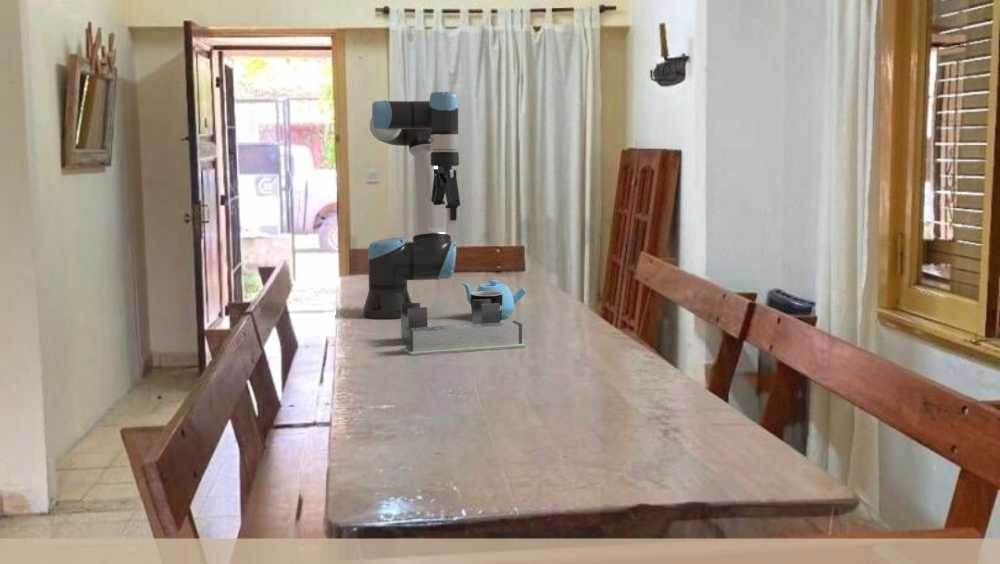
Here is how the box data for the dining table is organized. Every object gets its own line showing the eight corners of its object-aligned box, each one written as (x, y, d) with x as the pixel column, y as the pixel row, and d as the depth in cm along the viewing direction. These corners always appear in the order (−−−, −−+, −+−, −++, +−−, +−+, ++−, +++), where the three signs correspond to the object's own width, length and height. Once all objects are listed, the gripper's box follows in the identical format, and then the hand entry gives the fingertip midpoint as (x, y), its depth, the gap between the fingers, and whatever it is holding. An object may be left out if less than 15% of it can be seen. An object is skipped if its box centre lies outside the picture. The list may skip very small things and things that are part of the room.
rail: (410, 351, 250) (409, 331, 250) (405, 347, 255) (405, 327, 255) (522, 343, 260) (522, 324, 259) (515, 340, 264) (515, 320, 264)
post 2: (472, 333, 276) (472, 299, 275) (489, 332, 278) (489, 298, 277) (482, 339, 268) (482, 304, 267) (500, 338, 269) (499, 303, 268)
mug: (502, 331, 280) (502, 295, 278) (470, 331, 279) (470, 295, 278) (502, 323, 291) (502, 289, 290) (471, 324, 291) (471, 289, 290)
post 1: (401, 338, 270) (400, 303, 269) (419, 337, 272) (418, 302, 270) (409, 344, 262) (408, 309, 260) (427, 343, 263) (427, 307, 262)
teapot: (493, 323, 292) (493, 285, 290) (460, 318, 301) (459, 280, 300) (528, 316, 303) (528, 279, 302) (494, 311, 312) (494, 275, 311)
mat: (403, 348, 257) (403, 346, 257) (513, 340, 266) (513, 338, 266) (411, 355, 249) (411, 353, 249) (525, 347, 258) (525, 345, 258)
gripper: (419, 150, 277) (420, 227, 280) (443, 151, 254) (444, 235, 257) (445, 150, 279) (446, 226, 282) (471, 151, 256) (472, 234, 259)
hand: (445, 230), depth 270 cm, fingers open, 13 cm apart
